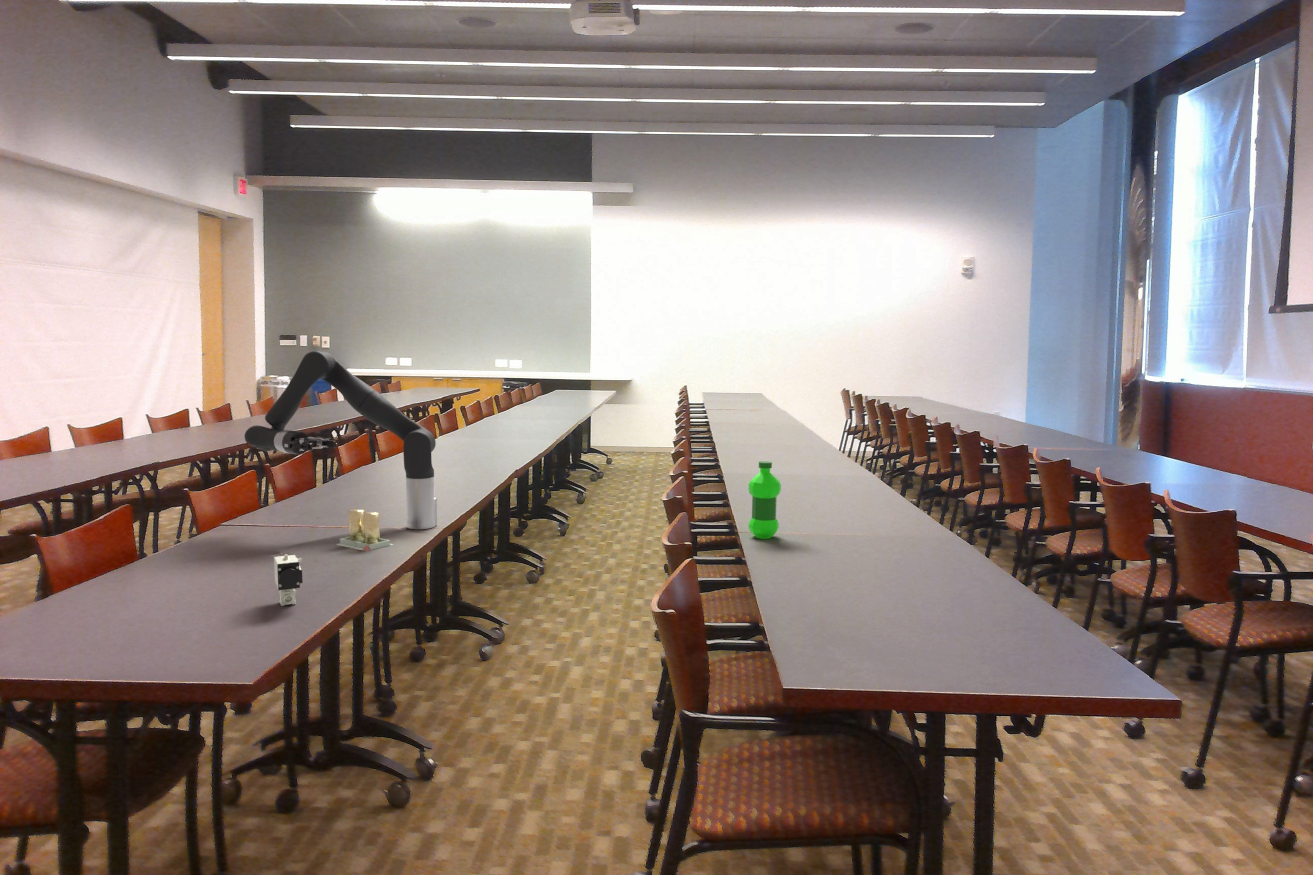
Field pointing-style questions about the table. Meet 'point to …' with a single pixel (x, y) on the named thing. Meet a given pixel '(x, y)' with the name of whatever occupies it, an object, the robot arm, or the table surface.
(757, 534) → the plastic bottle
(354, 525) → the billet
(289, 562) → the pneumatic valve
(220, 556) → the table surface
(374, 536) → the seated billet
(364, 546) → the pale green divided tray
